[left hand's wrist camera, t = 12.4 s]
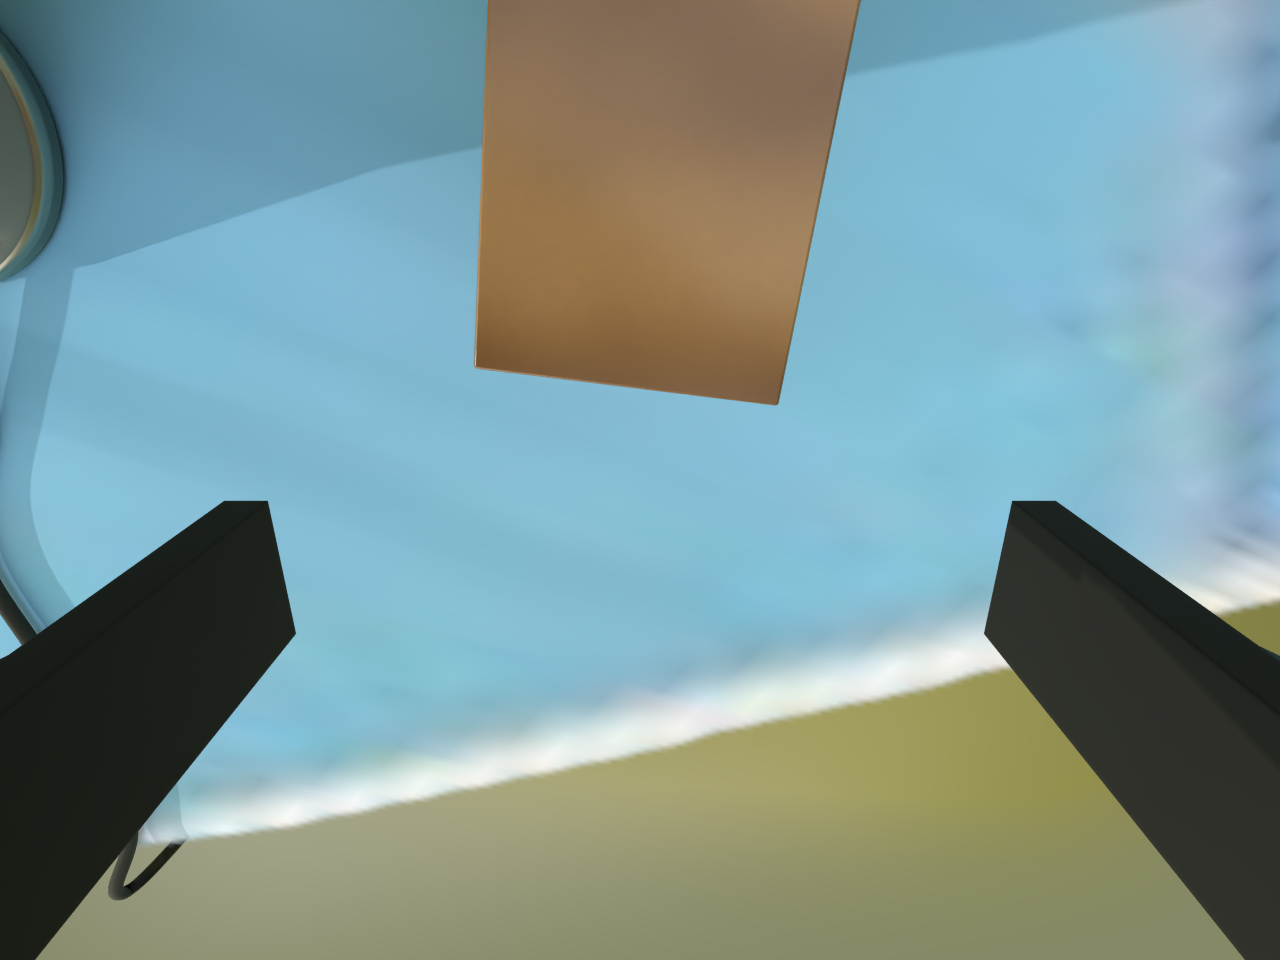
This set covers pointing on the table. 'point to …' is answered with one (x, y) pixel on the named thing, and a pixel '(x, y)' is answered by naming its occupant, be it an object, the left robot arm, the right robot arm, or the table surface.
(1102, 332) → the table surface
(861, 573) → the table surface
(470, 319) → the table surface
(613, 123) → the box
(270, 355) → the table surface
